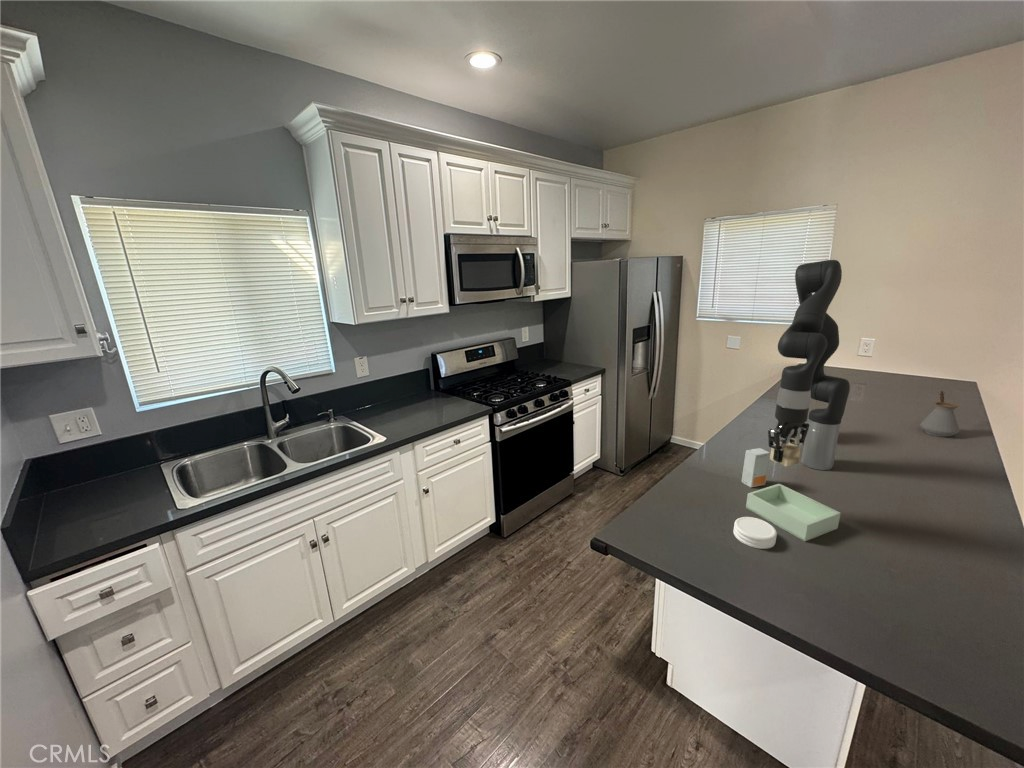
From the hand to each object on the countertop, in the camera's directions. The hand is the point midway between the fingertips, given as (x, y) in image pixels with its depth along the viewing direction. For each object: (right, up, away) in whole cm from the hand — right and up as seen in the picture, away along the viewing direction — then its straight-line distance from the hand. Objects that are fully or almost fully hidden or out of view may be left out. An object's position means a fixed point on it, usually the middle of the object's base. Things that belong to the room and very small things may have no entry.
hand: (784, 459), depth 117 cm
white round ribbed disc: (-13, -20, -7) cm, 25 cm away
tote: (+2, -17, +1) cm, 17 cm away
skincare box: (+3, -12, +20) cm, 24 cm away
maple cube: (0, -1, 0) cm, 1 cm away
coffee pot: (+104, +2, +57) cm, 118 cm away
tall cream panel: (+42, -2, +54) cm, 68 cm away
